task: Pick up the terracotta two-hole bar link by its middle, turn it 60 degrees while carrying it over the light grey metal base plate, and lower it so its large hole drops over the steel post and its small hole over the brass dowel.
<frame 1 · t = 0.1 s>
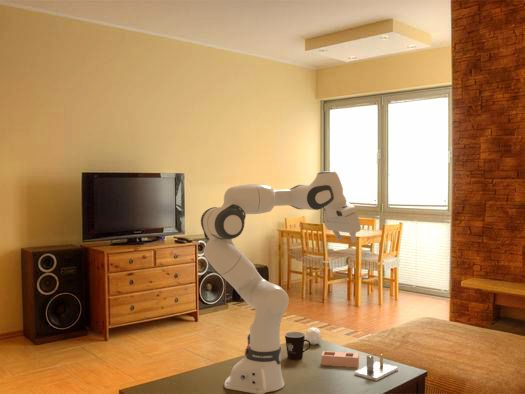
hand: (346, 241, 215), 52 cm above the table, tool tilted 20°, fingers open, 8 cm apart
coffee mug: (296, 358, 230), on the table
post plate: (376, 372, 212), on the table
geometric ball: (313, 344, 250), on the table
small box: (260, 359, 230), on the table
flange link: (340, 363, 223), on the table
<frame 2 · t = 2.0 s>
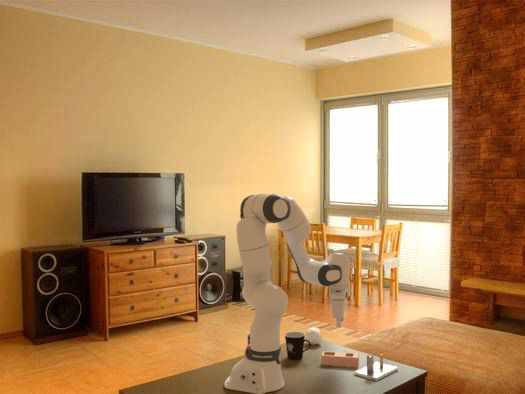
hand: (340, 324, 222), 17 cm above the table, tool pointing down, fingers open, 8 cm apart
nothing on the table moved.
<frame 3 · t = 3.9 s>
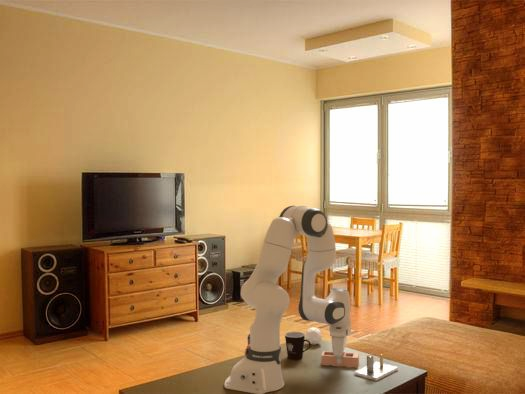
hand: (340, 360, 222), 2 cm above the table, tool pointing down, fingers closed on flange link, 6 cm apart
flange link: (340, 363, 223), on the table, touching gripper
everything else where it was.
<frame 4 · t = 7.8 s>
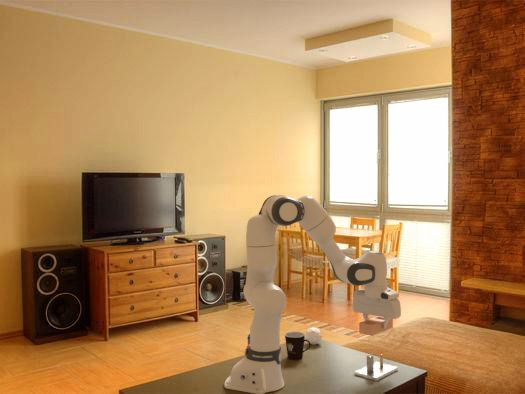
hand: (376, 326, 212), 18 cm above the table, tool pointing down, fingers closed on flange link, 6 cm apart
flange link: (376, 330, 212), point 17 cm above the table, touching gripper
everything else where it was.
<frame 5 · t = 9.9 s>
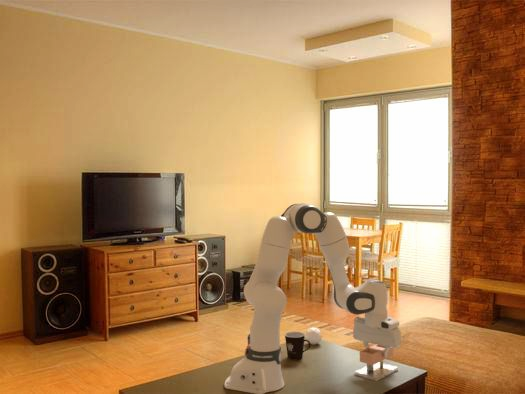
hand: (376, 354, 212), 7 cm above the table, tool pointing down, fingers closed on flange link, 6 cm apart
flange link: (376, 358, 212), point 6 cm above the table, touching gripper
everything else where it was.
when the fingers open (4 cm above the table, at t = 11.4 s): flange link drops 1 cm, resting on post plate.
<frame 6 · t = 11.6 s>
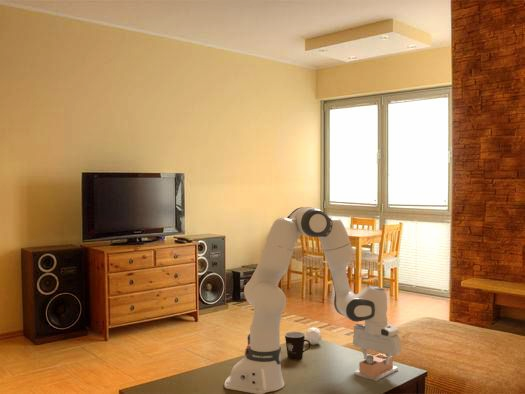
hand: (376, 361, 212), 4 cm above the table, tool pointing down, fingers open, 8 cm apart
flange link: (376, 369, 212), point 1 cm above the table, touching post plate
everything else where it was.
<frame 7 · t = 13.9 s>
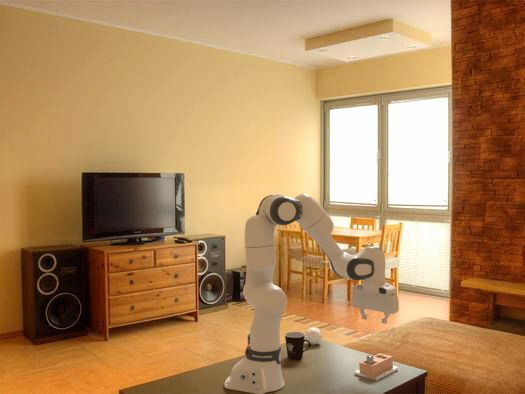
hand: (374, 321, 213), 20 cm above the table, tool pointing down, fingers open, 8 cm apart
nothing on the table moved.
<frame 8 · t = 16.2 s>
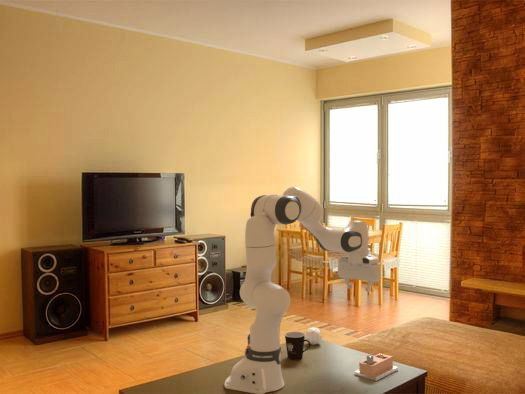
hand: (358, 289, 231), 29 cm above the table, tool pointing down, fingers open, 8 cm apart
nothing on the table moved.
at the end: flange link 0.0 cm off-centre on the post plate, point 1.2 cm above the post plate's base; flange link tilted 0°; the gripper is holding nothing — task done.
